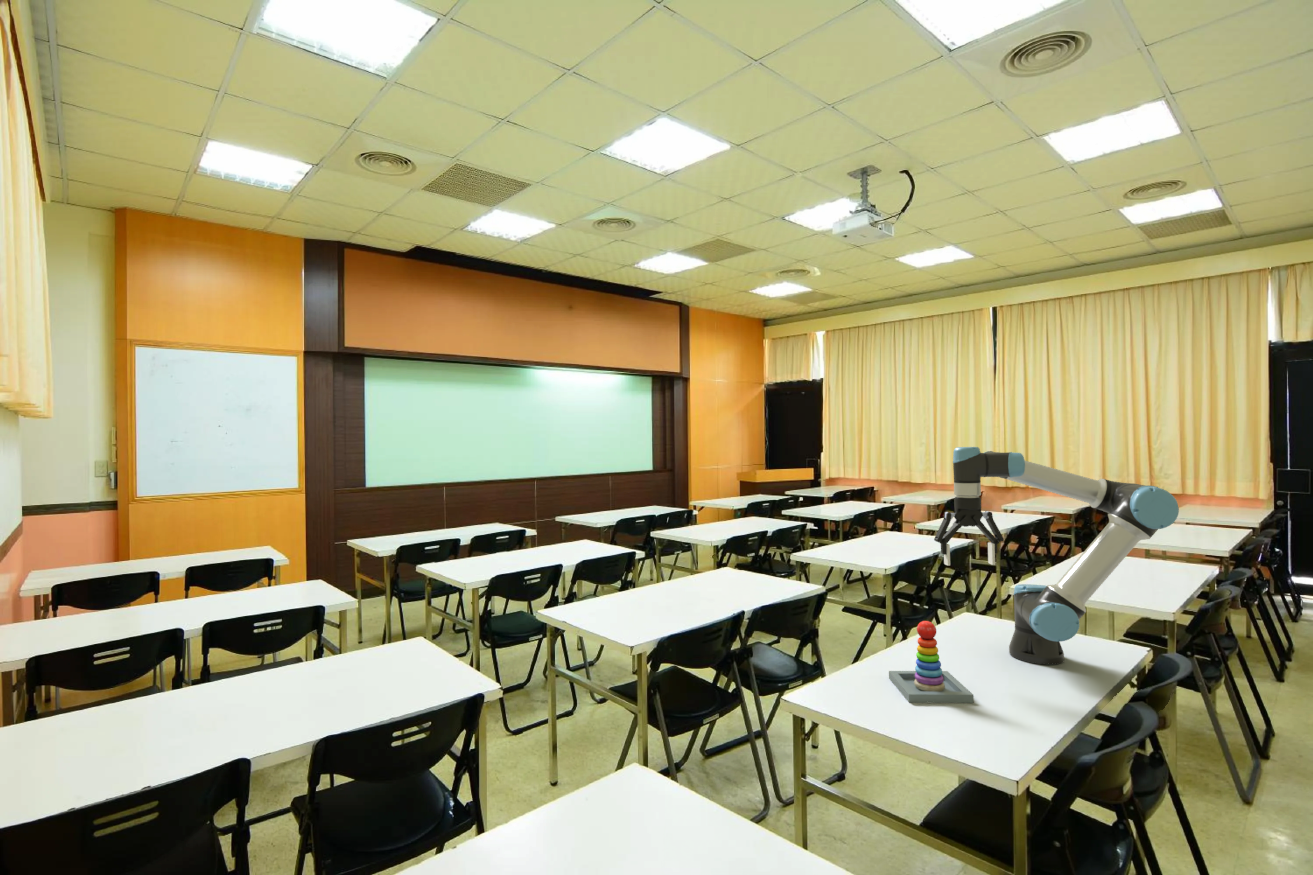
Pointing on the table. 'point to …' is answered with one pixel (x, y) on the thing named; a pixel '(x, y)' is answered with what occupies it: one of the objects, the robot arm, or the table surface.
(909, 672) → the gray square tray
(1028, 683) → the table surface
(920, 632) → the stacking toy
